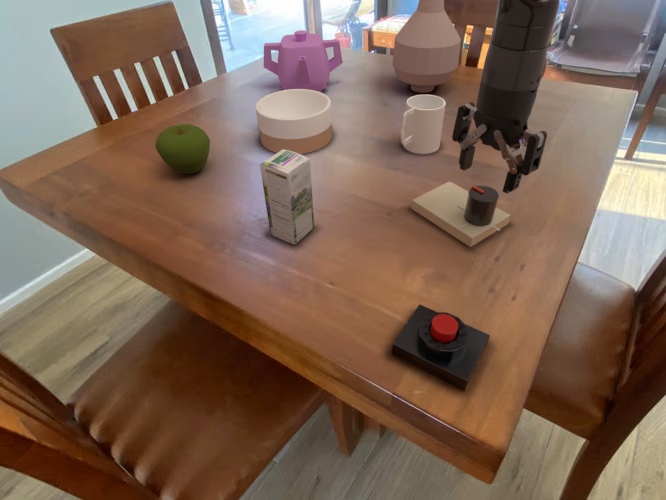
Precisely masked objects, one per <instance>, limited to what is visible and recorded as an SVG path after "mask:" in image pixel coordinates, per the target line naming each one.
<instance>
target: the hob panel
mask: <svg viewBox="0 0 666 500" xmlns="http://www.w3.org/2000/svg"><path fill="white" fill-rule="evenodd" d="M468 193H469V190H466V189H465V188H462V187H461V186H460V185H457V184H456V183H453V182H452V181H446V182H445V183H443V184H441V185H439V186H437V187H435V188H433V189H431V190H429V191H428V192H425V193H423V194H422V195H419V196H417V197H415V198H413V199H412V200H411V210H412V211H414V212H416V213H417V214H418V215H420V216H422V217H423V218H425V219H426V220H428V221H429V222H431V223H433V224H434V225H435V226H437V227H438V228H440V229H442V230H443V231H445V232H446V233H448V234H449V235H450V236H452V237H453V238H455V239H457V240H459V241H460V242H461V243H463V244H465V245H466V246H467V247H469V248H471V247H473V246H475V245H476V244H478V243H480V242H481V241H483V240H485V239H486V238H488V237H490V236H491V235H492V234H494V233H496V232H500V231H501V229H502V228H504V227H505V226H507V225H509V222H510V220H511V216H512V215H511V214H509V213H508V212H506V211H504V210H503V209H501V208H499V207H497V206H496V209H495V213H494V217H493V220H492V222H491V223H490V224H489V225H486V226H475V225H472V224H470V223H468V222H467V221H466V220H465V219H464V212H465V207H466V202H467V198H468Z"/></svg>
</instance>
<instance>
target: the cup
mask: <svg viewBox="0 0 666 500" xmlns="http://www.w3.org/2000/svg"><path fill="white" fill-rule="evenodd" d="M446 104H447V103H446V100H445V99H444V98H443V97H440V96H439V95H435V94H424V93H422V94H416V95H413V96H409V97H408V98H407V99H406V104H405V112H404V113H403V115H402V119H401V123H400V129H399V130H400V144H401V145H402V146H403V148H404V149H405V150H406V151H408V152H410V153H413V154H418V155H426V154H427V155H429V154H433V153H435V152H437V151H438V150H439V149H440V146H441V141H442V140H441V139H442V132H443V125H444V119H445V110H446V106H447V105H446Z"/></svg>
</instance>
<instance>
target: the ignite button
mask: <svg viewBox="0 0 666 500" xmlns="http://www.w3.org/2000/svg"><path fill="white" fill-rule="evenodd" d="M457 330H458V323H457V321H456V320H455V319H454V318H453V317H452V316H450V315H446V314H440V315H437V316H435V317H434V318H433V320H432V324H431V329H430V332H431V335H432V337H433V338H434V339H435V340H437V341H439V342H442V343H448V342H451V341H453V340H454V339H455V337H456V334H457Z"/></svg>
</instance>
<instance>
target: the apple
mask: <svg viewBox="0 0 666 500" xmlns="http://www.w3.org/2000/svg"><path fill="white" fill-rule="evenodd" d="M154 146H155V149H156V152H157V153H158V155H159V156H160V158H161V160H162V161H163V162H164V163H165V164H166V165H167V166H168V167H169V168H171V169H172V170H173V171H174V172H176V173H180V174H185V175H191V174H194V173H198V172H199V171H201V170H202V169H203V168H205V165H206V164H207V161H208V157H209V154H210V149H211V148H210V147H211V139H210V137H209V136H208V134H207V133H206V131H205V130H204V129H203V128H200V127H199V126H196V125H193V124H188V123H185V124H184V123H183V124H176V125H172V126H169V127H167V128H165V129H163V131H161V132H160V133H159V134H158V136H157V137H156V139H155V145H154Z"/></svg>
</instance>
